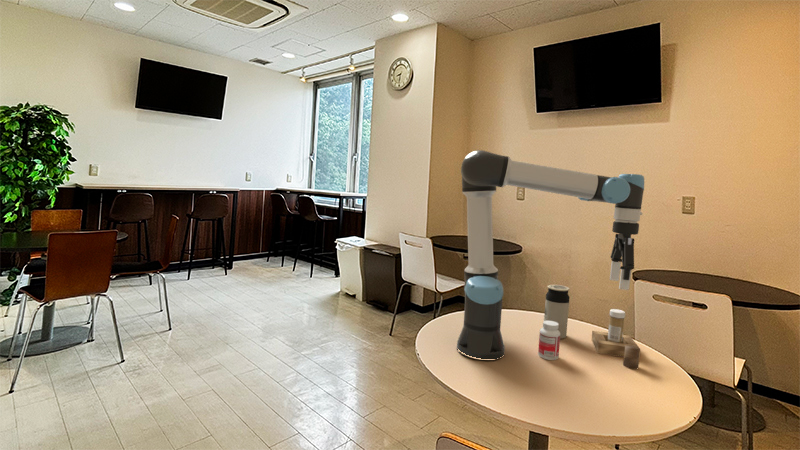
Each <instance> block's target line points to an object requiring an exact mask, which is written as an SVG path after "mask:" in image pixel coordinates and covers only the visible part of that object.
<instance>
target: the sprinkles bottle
mask: <svg viewBox="0 0 800 450" xmlns="http://www.w3.org/2000/svg"><path fill="white" fill-rule="evenodd" d="M625 317H626V312H625V311H624V310H621V309H618V308H617V309H616V308H611V309H610V310H609V321H608V322H609V323H608V332H607V333H608V342H616V343H622V339H623V335H624V325H625V323H624V322H625Z"/></svg>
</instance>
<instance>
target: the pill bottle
mask: <svg viewBox="0 0 800 450" xmlns="http://www.w3.org/2000/svg"><path fill="white" fill-rule="evenodd" d="M558 328H559V324H558V323H557V322H554V321H544V320H543V322H542V327H541V328H540V330H539V339H538V352H537V353H538V356H539V357H541V358H542V359H544V360H547V361H555V360H558V359H559V357H560V344H561V343H560V342H561V339H560V332H559V330H557V329H558Z"/></svg>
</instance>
